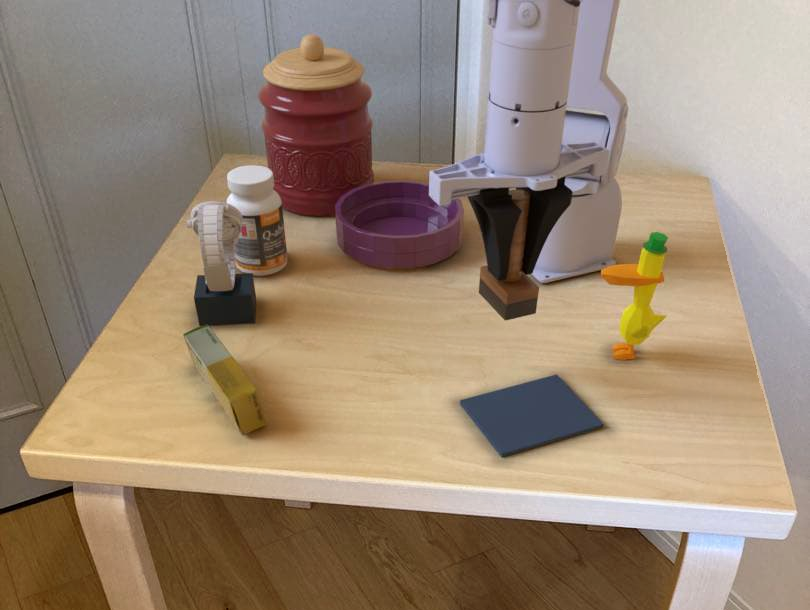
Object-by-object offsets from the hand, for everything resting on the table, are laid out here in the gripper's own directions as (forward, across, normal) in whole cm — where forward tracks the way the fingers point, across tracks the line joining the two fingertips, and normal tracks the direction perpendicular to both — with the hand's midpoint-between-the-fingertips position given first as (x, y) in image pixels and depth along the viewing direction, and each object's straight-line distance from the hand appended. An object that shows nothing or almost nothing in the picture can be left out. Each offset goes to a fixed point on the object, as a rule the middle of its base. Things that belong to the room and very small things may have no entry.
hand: (509, 271), depth 70 cm
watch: (+11, -20, +21) cm, 31 cm away
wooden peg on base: (+3, 0, 0) cm, 3 cm away
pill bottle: (+11, -14, +29) cm, 34 cm away
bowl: (+10, +2, +28) cm, 30 cm away
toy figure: (+11, +12, -1) cm, 16 cm away
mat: (+10, 0, -6) cm, 12 cm away
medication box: (+11, -24, +7) cm, 27 cm away
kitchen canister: (+11, -2, +43) cm, 44 cm away
